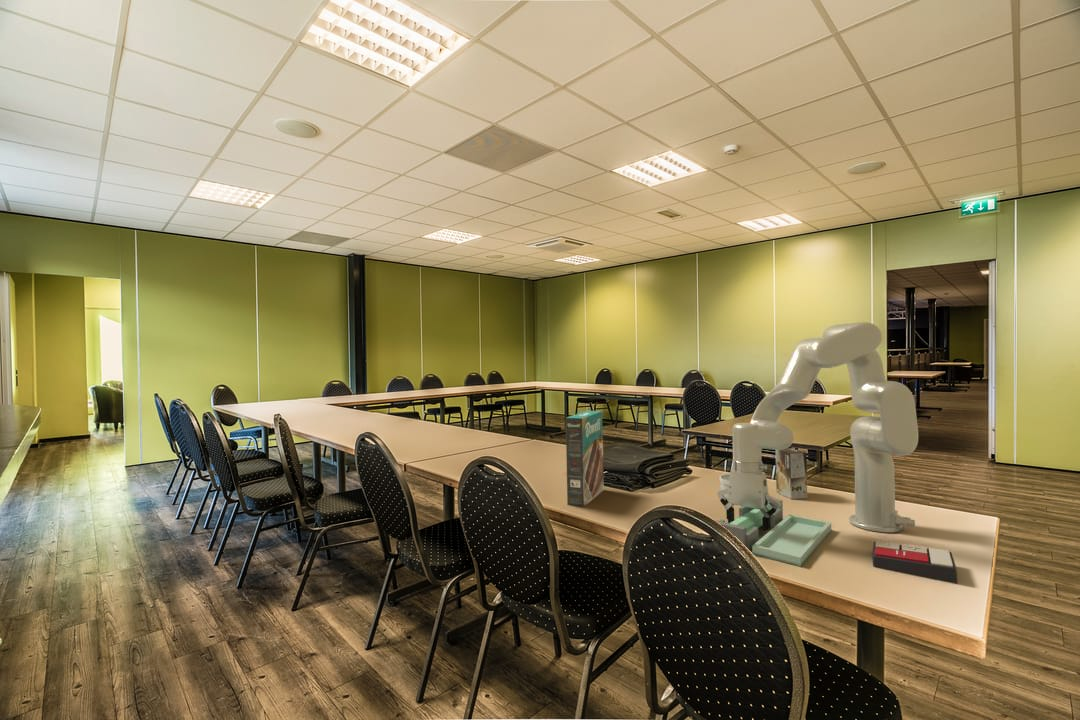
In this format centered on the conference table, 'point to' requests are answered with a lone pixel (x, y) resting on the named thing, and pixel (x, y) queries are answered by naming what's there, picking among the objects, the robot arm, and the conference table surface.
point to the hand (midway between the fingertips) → (748, 526)
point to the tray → (792, 540)
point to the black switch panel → (915, 560)
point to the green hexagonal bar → (751, 519)
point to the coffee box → (791, 473)
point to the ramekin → (724, 482)
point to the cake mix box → (584, 457)
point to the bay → (753, 534)
